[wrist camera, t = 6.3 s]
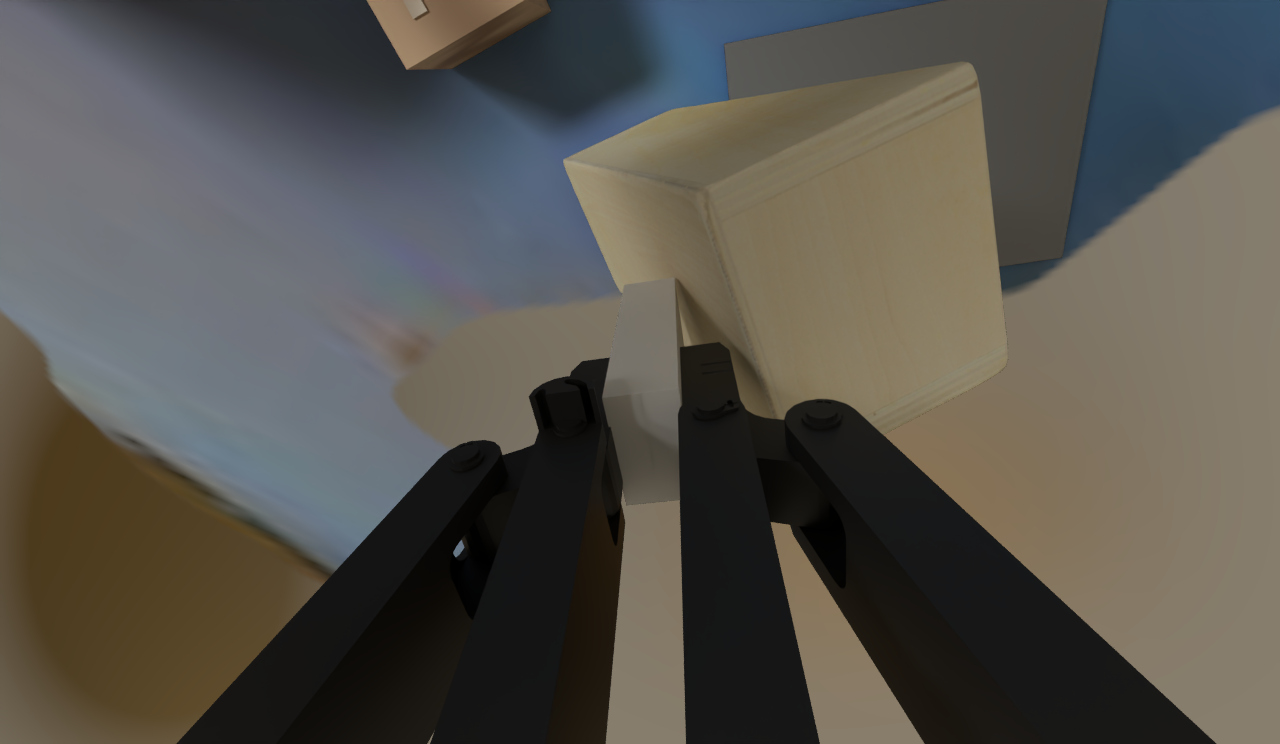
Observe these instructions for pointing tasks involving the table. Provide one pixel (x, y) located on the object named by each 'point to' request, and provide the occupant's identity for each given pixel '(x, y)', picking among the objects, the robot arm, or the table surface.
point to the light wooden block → (817, 237)
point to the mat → (1008, 80)
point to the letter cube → (451, 27)
